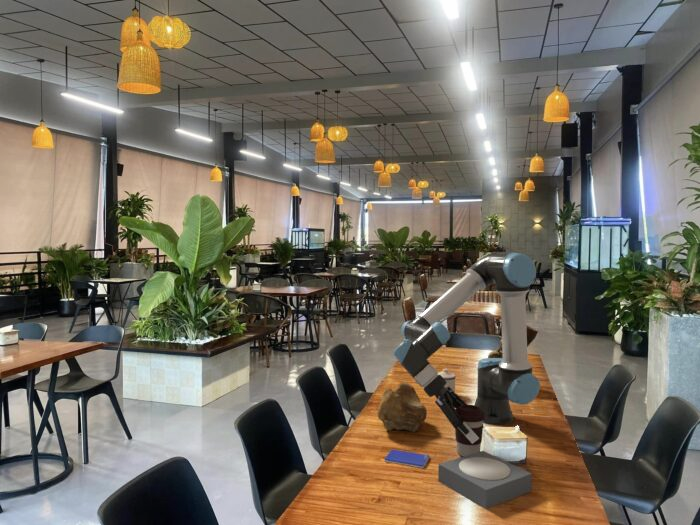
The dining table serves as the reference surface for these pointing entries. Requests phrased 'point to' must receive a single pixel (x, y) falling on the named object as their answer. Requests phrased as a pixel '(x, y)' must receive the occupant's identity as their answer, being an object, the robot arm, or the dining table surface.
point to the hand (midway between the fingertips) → (478, 435)
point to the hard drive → (407, 458)
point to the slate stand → (485, 478)
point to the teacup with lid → (448, 379)
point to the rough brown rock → (401, 408)
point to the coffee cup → (475, 422)
